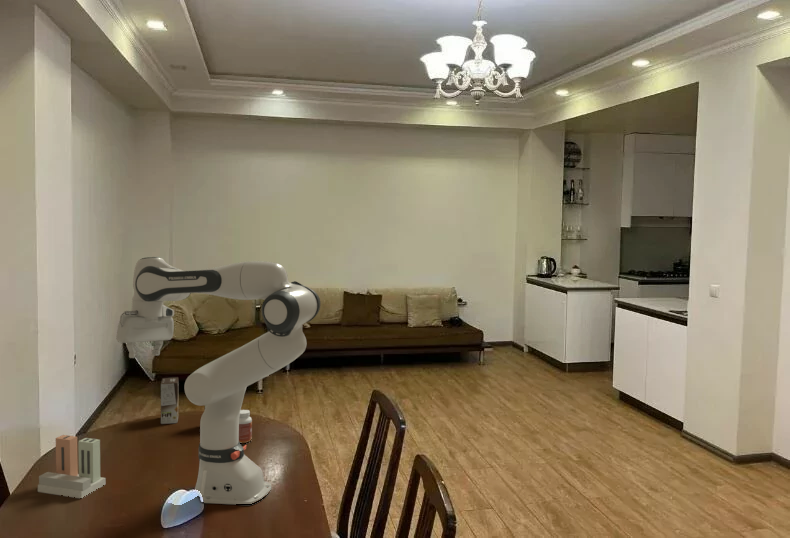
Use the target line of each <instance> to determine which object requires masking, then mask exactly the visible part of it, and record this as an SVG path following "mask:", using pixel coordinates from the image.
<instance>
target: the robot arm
mask: <svg viewBox="0 0 790 538" xmlns="http://www.w3.org/2000/svg"><path fill="white" fill-rule="evenodd" d="M132 282H133V283H132V288H133V296H132V299H131V310H124V311H123V313H121V315H120V316H119V321H118V323H117V324H118V325H117V330H116V341H117V342H118V343H120V344H121V343H122V344H125V345H126V348H127V350H128V352H129V353H128V357H129V359H135V358H138V351H136V349H135V347H136V343H142V342H143V343H145V342H154V345H155V346H154V347H153V349H151V355H152V356H157V357H158V356H160V354H161V349H162V347H163V345H164V341H171V340H172V338H173V336H174V330H175V326H174V325H175V323H174V322H175V320H174V319H173V317H174V316H175V310H174V309H172V308H170V307H169V306H166V305H164V302H166V301H167V302H169V301H170V302H171V301H172V302H178V301H182V300H186V299H187V298H189V297H190V296H191V294H205V295H211V296H216V297H221V298H226V299H227V298H228V299H233V300H240V301H243V300H245V301H248V300H249V301H250V300H252V301H253V300H264V301H263V302H262V304H261V316H262V319H263V321H264V323H265V325H266V330H267V332H265V333H263V334H261V335H260V336H258V337H256V338H255V339H253V340H251V341H249V342H247V343H245V344H244V345H242V346H240V347H237V348H236V349H233V350H232V351H230V352H227V353H226V354H224V355H221V356H220V357H218V358H216V359H214V360H212V361H210V362H208V363H206V364H204V365H203V366H200V367H199V368H198V369H196V370H195V371H193V372H192V373H191V374H190V375H188V376H187V378H186V379H185V382H184V393H185V394H184V395H186V398H187V400H189V402H191V403H192V404H193V405H196V406H202V407H203V406H205V405H207V407H206V409H205V408H204V411H203V413H202V414H201V418H200V420H199V421H200V422H199V423H200V424H199V427H200V429H199V432H200V433H199V434H200V436H199V438H200V439H199V441H200V442H199V444H198V461H199V463H198V464H199V465H198V473H197V474H198V475H197V480H196V483H195V487H194V490H195V489H196V490H198V491H200V493H201V494H202V497H203V500H204V503H203V504H217V505H218V504H220V505H221V504H222V505H236V504H252V503H254V502H256V501H258V500H260V499H262V498H263V497H264V496H265V495H267V494H268V492H269V491H270V490H271V491H272V484H271V482H268V481H266V480H265V478H264V473H263V470H262V467H260V466H259V465H257V464H256V463H255V462H254V461H253V460H251V459H250V458H249V457H248V456H247V455H246V454H245V452H244V451H245V450H246V449H247V444H244V446H242V444H240V442H239V416H240V410H242V406H243V401H244V397H245V393H246V390H247V387H249V386H251V385H253V384H254V383H256V382H258V381H260V380H262V379H265V378H266V377H269V376H270V375H272V374H274V373H275V372H278V371H280V370H281V369H282V368H285V367H286V366H288V365H289V364H291V363H292V362H294V361H295V360H296V359H298V358H299V357H300V356H301V355H303V353H304V352H305V351H306V348H307V338H306V336H305V333H304V332H303V325H304V324H305V323H308V322H311V321H312V320H314V318H315V317H316V316H317V315H318V313H319V312H320V310H321V298H320V296H319V294H318V293H317V292H316V291H315V290H313V289H312V288H310V287H308V286H307V285H304V284H301V283H300V282H298V281H291V282H290V281H289V278H288V273H287V270H286V268H285V267H284V266H283V265H282V264H280V263H277V262H272V261H262V260H260V261H259V260H251V261H249V260H248V261H247V260H246V261H241V262H233V263H229V264H224V265H220V266H215V267H210V268H209V267H208V268H205V269H197V270H183V269H180V268H178V267H175V266H173V265H170V264H169V263H167V262H166V261H165V259H164V258H162V257H159V256H149V257H148V256H147V257H143V258H140V259H138V260H137V262H136V264H135V266H134V272H133V281H132ZM267 487H268V488H267ZM271 491H270V492H271ZM268 495H269V494H268ZM268 495H267V496H268ZM262 500H263V499H262ZM252 505H253V504H252Z"/></svg>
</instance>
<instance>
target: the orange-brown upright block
mask: <svg viewBox="0 0 790 538" xmlns="http://www.w3.org/2000/svg"><path fill="white" fill-rule="evenodd" d="M55 473H58V474H65V475H72V476H77V475H78V474H79V457H78V436H75V435H67V434H62V435H60V436H58V437H56V438H55Z"/></svg>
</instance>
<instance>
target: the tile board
mask: <svg viewBox="0 0 790 538" xmlns="http://www.w3.org/2000/svg"><path fill="white" fill-rule="evenodd" d="M106 479H107V478H106V477H101V476H100V479H99V480H97V481H95V482H94V483H93V482H91V478H85V477H79V473H78V475H77V476H72V475H65V474H58V473H56V472H51V471H47V472H44V473H42V474H40V475H39V476H38V484H37V492H38V493H42V494H49V495H56V496H61V495H63V496H62V497H68V496H69V498H74V497H75V498H74V499H80V498H82V499H83V497H84V496H85V497H87V496H89V495H90V494H92V493H93V491H94V492H95V491H97V490H98V488H99V489H100V488H102V487H104V486H105V485H106V482H107V481H106ZM103 485H104V486H103ZM96 489H97V490H96ZM91 492H92V493H91ZM89 493H90V494H89ZM88 494H89V495H88ZM86 495H87V496H86ZM85 497H84V498H85Z"/></svg>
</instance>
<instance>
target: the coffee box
mask: <svg viewBox="0 0 790 538" xmlns="http://www.w3.org/2000/svg"><path fill="white" fill-rule="evenodd" d="M178 421H179V377H178V376H177V377H176V376H175V377H163V378H161V381H160V424H161V425H166V424H177V423H178Z"/></svg>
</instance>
